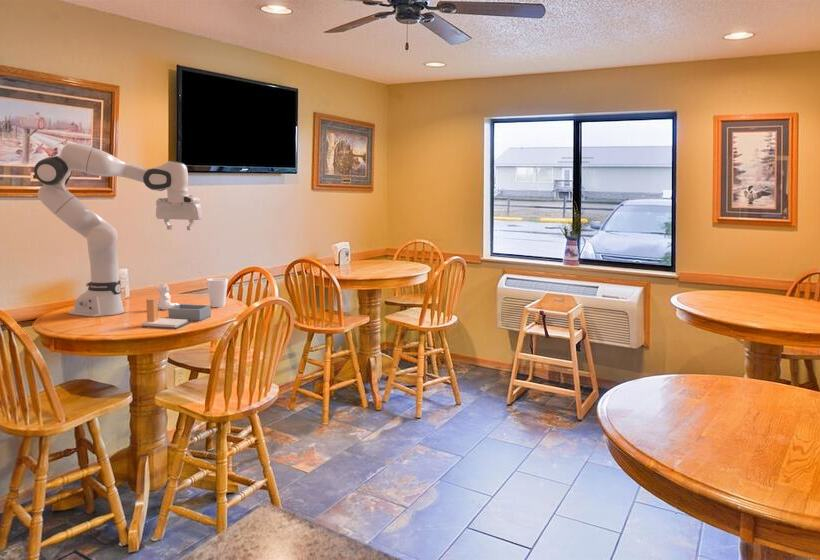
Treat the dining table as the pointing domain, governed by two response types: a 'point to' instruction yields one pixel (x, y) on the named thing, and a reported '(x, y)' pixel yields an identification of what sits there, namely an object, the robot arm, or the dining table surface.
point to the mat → (168, 327)
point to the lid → (155, 321)
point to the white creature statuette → (164, 297)
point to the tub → (190, 312)
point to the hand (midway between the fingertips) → (179, 229)
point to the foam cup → (217, 291)
